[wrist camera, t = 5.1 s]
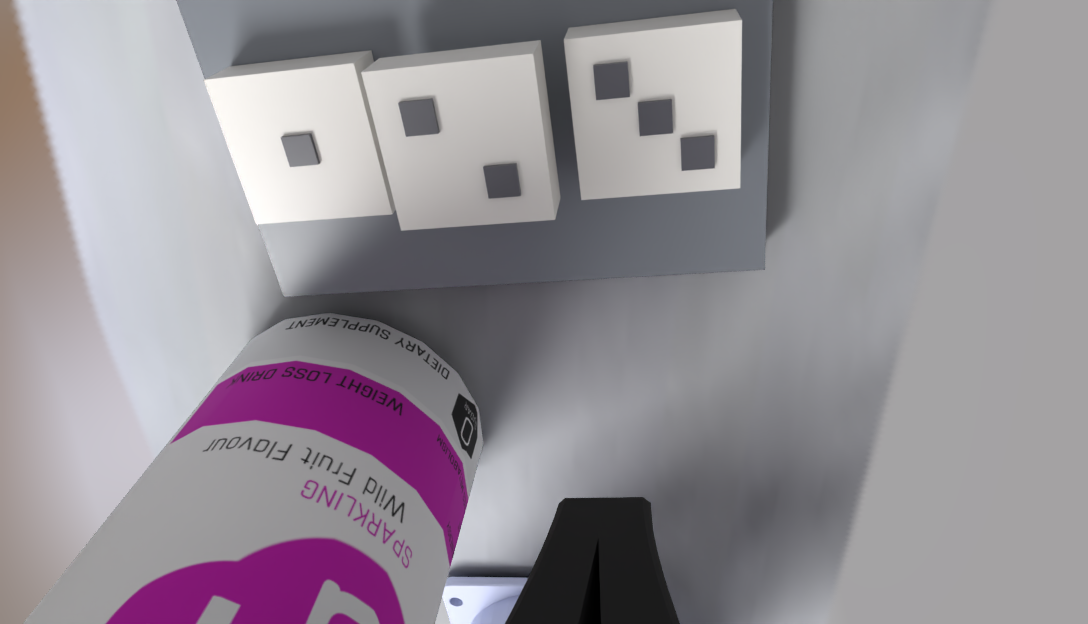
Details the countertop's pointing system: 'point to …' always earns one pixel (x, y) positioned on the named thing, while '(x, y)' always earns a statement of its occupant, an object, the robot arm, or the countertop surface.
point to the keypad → (581, 225)
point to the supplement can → (293, 492)
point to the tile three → (657, 104)
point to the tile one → (303, 138)
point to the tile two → (466, 135)
